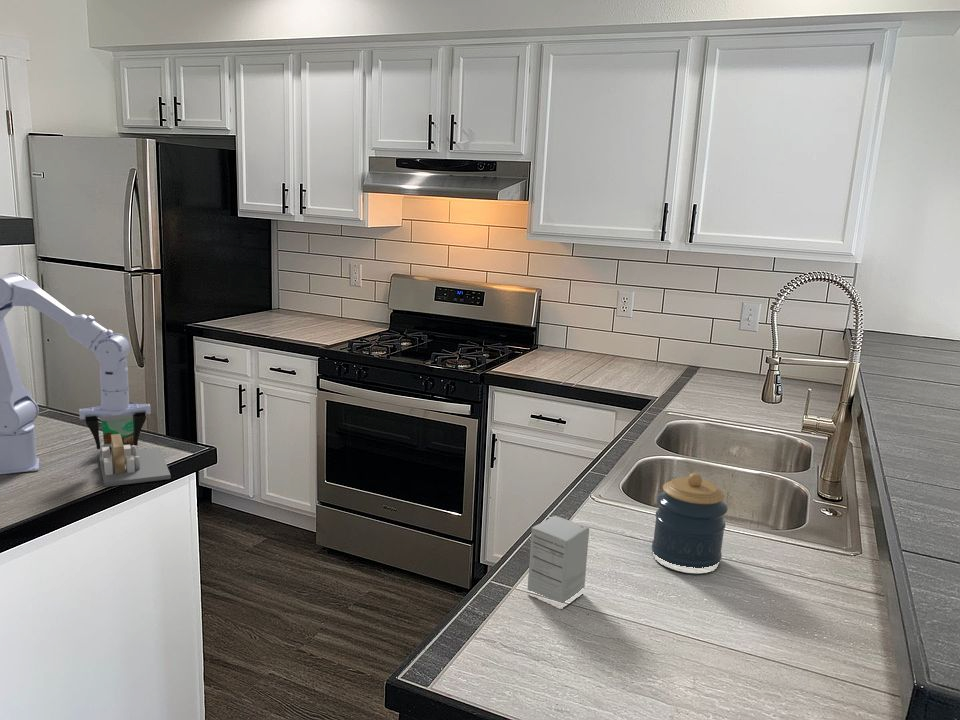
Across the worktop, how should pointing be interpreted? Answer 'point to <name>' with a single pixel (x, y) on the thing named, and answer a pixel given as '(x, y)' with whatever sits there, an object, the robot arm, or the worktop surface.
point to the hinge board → (134, 466)
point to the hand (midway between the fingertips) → (117, 446)
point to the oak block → (117, 453)
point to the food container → (118, 428)
